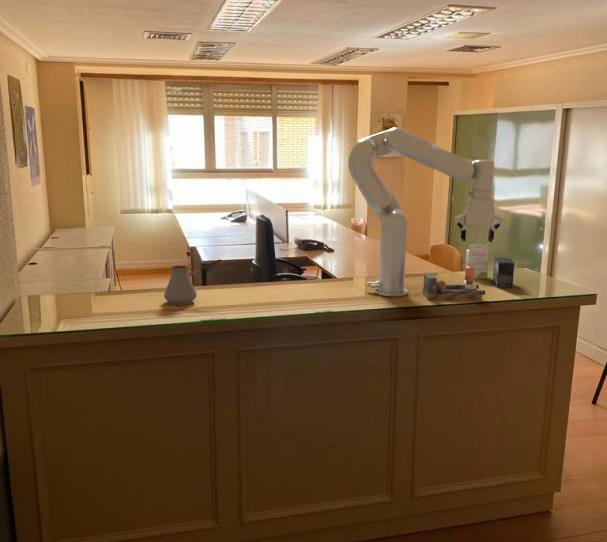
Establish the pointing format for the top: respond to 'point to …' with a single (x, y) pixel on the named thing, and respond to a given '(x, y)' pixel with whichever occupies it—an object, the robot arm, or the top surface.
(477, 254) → the ink box
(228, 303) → the top surface
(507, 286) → the small box
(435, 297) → the press bench
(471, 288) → the ram
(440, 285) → the walnut
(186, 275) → the coffee pot
